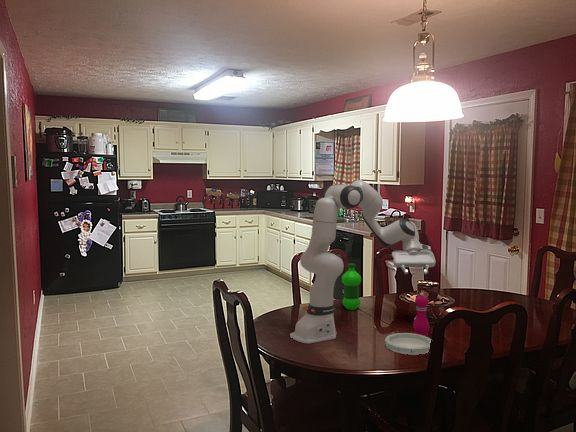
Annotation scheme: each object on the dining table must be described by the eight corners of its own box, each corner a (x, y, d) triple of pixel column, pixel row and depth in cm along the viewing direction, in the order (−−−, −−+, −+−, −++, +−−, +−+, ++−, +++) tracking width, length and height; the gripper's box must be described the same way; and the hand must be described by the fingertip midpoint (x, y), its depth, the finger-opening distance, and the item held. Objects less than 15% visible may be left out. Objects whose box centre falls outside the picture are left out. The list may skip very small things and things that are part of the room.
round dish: (412, 358, 197) (412, 352, 197) (375, 344, 213) (375, 339, 213) (442, 347, 209) (442, 342, 209) (405, 335, 225) (405, 330, 225)
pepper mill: (420, 338, 220) (421, 295, 219) (409, 333, 227) (410, 291, 225) (432, 336, 224) (433, 293, 222) (421, 331, 230) (422, 290, 228)
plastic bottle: (349, 305, 276) (349, 261, 274) (364, 308, 269) (364, 264, 267) (338, 308, 269) (338, 264, 267) (353, 312, 262) (353, 266, 259)
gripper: (392, 246, 243) (395, 270, 234) (433, 246, 242) (438, 269, 233) (390, 254, 248) (393, 277, 239) (431, 253, 247) (435, 276, 238)
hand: (416, 273), depth 236 cm, fingers open, 8 cm apart
